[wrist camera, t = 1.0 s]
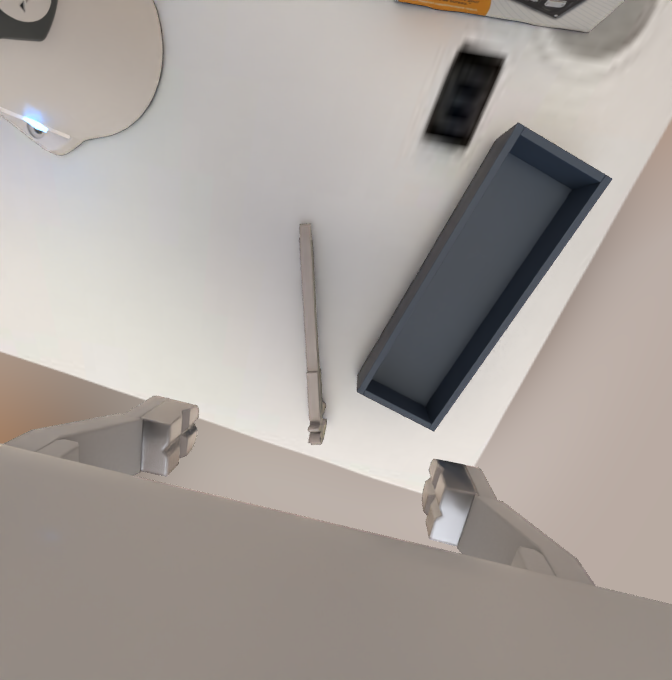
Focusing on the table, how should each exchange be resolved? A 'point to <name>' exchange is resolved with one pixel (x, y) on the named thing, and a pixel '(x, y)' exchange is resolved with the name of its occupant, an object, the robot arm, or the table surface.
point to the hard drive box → (533, 10)
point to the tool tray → (479, 274)
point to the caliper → (311, 339)
